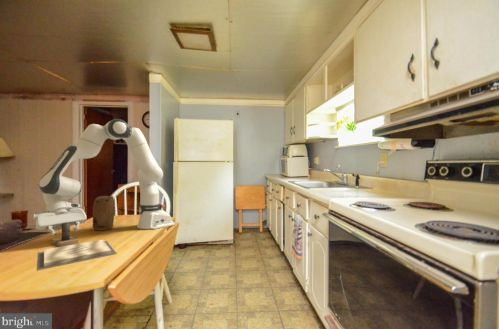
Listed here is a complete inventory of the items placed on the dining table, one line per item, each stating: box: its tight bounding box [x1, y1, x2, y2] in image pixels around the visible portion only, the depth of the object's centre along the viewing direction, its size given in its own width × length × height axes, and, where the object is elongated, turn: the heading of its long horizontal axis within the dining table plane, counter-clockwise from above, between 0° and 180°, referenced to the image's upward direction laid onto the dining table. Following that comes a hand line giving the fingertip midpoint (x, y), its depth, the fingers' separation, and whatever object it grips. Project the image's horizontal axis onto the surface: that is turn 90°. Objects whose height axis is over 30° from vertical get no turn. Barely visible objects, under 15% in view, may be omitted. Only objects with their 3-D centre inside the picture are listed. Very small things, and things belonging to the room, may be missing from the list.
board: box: [43, 239, 111, 267], centre depth 104 cm, size 22×19×2 cm
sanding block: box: [52, 223, 79, 247], centre depth 117 cm, size 10×7×10 cm
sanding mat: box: [36, 240, 118, 271], centre depth 104 cm, size 26×23×1 cm
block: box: [92, 195, 115, 231], centre depth 145 cm, size 11×8×20 cm
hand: (66, 232), depth 117 cm, fingers open, 8 cm apart
